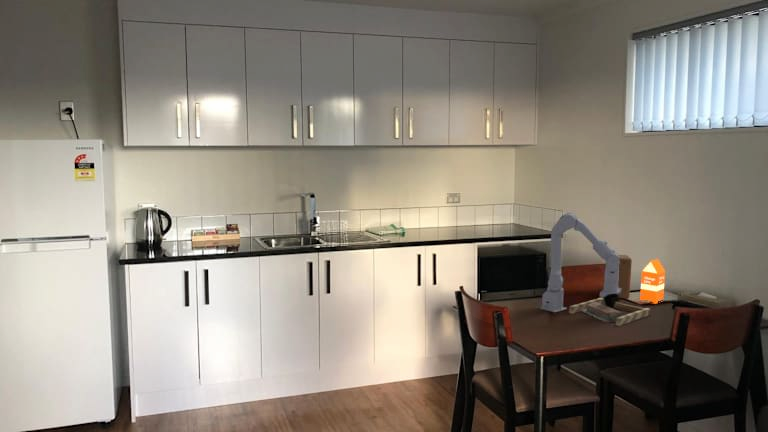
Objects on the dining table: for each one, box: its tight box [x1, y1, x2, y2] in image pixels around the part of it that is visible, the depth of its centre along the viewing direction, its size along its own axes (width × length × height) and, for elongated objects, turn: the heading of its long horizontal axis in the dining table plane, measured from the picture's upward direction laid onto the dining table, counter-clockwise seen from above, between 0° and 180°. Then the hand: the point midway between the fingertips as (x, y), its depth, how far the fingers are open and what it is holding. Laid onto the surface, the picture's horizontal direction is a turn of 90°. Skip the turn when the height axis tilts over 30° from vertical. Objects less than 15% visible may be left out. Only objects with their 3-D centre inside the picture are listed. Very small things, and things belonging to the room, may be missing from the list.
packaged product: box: [580, 302, 622, 323], centre depth 273 cm, size 18×5×10 cm
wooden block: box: [616, 254, 633, 299], centre depth 307 cm, size 10×10×20 cm
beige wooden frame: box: [568, 297, 651, 327], centre depth 276 cm, size 26×24×3 cm
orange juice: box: [639, 258, 666, 305], centre depth 299 cm, size 8×9×20 cm
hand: (609, 310), depth 276 cm, fingers closed
